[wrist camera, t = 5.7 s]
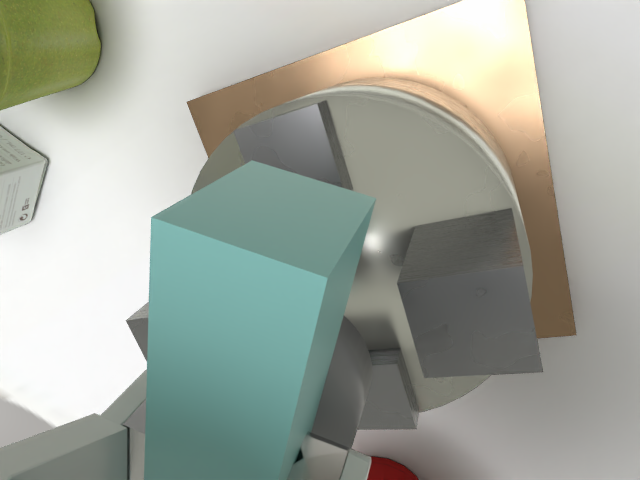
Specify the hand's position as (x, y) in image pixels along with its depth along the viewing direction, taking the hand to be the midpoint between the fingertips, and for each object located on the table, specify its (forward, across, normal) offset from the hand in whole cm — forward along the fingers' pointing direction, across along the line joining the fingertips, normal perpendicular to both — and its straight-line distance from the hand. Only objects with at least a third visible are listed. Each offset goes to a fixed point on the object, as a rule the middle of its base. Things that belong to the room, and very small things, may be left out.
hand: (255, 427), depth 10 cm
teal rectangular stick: (+3, 0, 0) cm, 3 cm away
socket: (+15, 0, 0) cm, 15 cm away
